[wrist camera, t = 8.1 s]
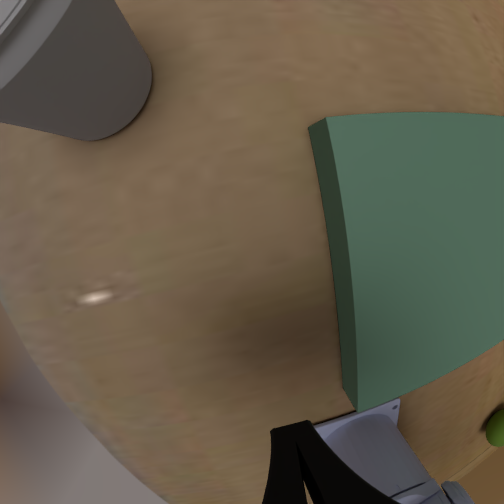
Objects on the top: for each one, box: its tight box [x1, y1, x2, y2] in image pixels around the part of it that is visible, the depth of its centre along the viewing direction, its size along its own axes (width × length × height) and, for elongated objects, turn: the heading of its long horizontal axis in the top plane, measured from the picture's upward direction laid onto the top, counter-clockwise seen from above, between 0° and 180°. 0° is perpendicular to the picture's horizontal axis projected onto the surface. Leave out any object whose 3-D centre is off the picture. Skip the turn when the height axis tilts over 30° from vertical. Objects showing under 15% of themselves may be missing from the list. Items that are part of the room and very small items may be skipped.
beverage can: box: [0, 0, 152, 141], centre depth 8 cm, size 6×6×12 cm
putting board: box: [308, 112, 504, 413], centre depth 17 cm, size 18×24×3 cm
